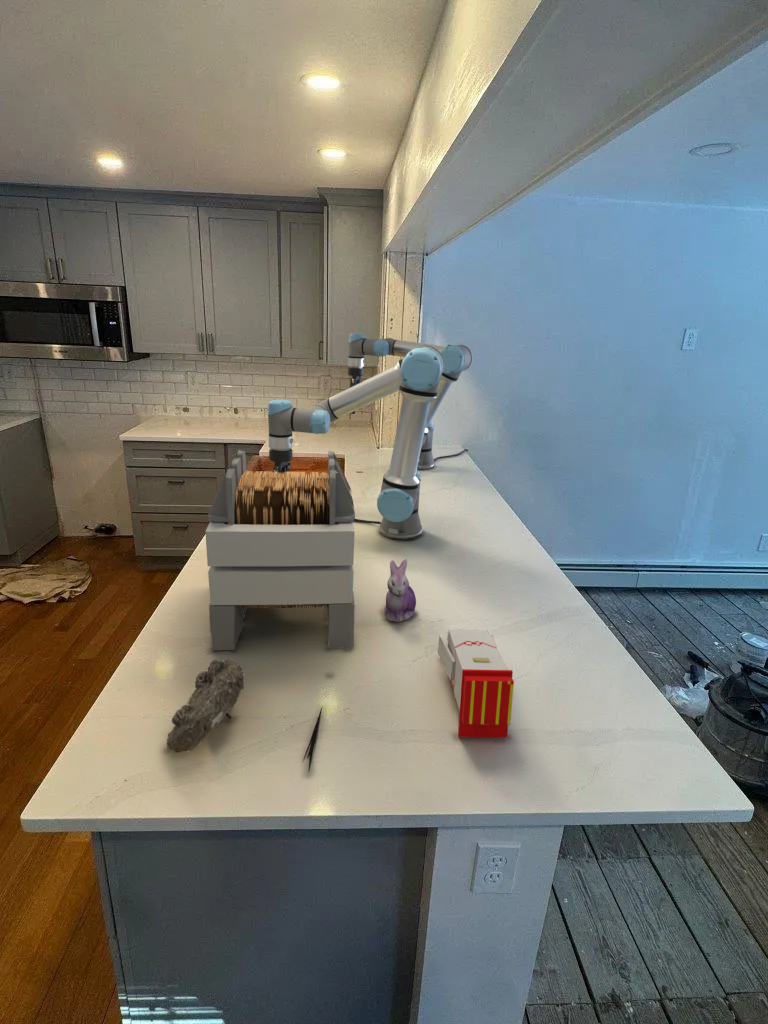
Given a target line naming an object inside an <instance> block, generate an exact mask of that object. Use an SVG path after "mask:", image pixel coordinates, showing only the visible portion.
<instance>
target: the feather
mask: <svg viewBox="0 0 768 1024" xmlns="http://www.w3.org/2000/svg"><path fill="white" fill-rule="evenodd" d="M329 675H330V676H331V675H332V674H331V673H330V674H329ZM322 710H323V707H321V708H320V710H319V713H318V716H317V719H316V723H315V725H314V728H313V731H312V733H311V737H310V739H309V742H308V745H307V748H306V751H305V754H304V757H303V760H302V763H301V767H302V765H303V763H304V761H305V758H308V759H309V760H308V762H307V763H308V764H307V766H308V771H310V770H311V766H312V765H311V764H312V760H313V757H315V756H314V755H315V751H316V749H315V746H317V739H318V733H319V729H320V722H321V717H322V712H323V711H322ZM313 754H314V755H313ZM306 755H307V757H306Z"/></svg>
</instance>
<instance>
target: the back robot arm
mask: <svg viewBox="0 0 768 1024" xmlns="http://www.w3.org/2000/svg"><path fill="white" fill-rule="evenodd" d="M421 346H431V347H434V348H436V349H437V350H438V351H439V352H440V353H441V355H442V356H443V359H444V370H443V373H442V375H441V378H440V383H439V388H438V393H437V397H436V398H435V399H433V400H432V401H431V402H430V407H429V412H428V417H427V422H426V427H425V432H424V437H423V442H422V447H421V452H420V457H419V462H418V467H417V471H419V470H422V471H424V470H426V471H427V470H431V469H434V468H435V461H437V460H438V459H444V458H445V459H446V458H452V457H456V456H460V455H461V454H463V453H465V452H469V450H468V449H467V448H465V449H463V450H462V451H460V452H458V453H454V454H449V455H442V456H438V457H435V458H434V455H433V440H434V430H435V429H434V423H433V422H432V419H433V417H434V416H435V414H436V412H437V410H438V408H439V407H440V405H441V404H442V402H443V400H444V398H445V396H446V394H447V393H448V391H449V389H450V387H451V385H452V384H453V383H456V382H457V381H458V380H459V378H460V376H461V374H462V373H463V372H465V371H466V370H468V369H469V368H470V367H471V366H472V364H473V361H474V354H473V352H472V350H471V348H469V346H466V345H463V344H457V345H455V344H454V345H453V344H447V345H446V346H444V345H437V344H430V343H429V344H428V343H422V342H416V341H407V340H402V339H394V338H391V337H387V338H366V335H365V333H356V332H355V333H354V332H353V333H349V335H348V357H347V366H348V368H347V375H348V376H351V378H350V380H349V388H351V387H353V386H355V385H357V384H359V383H361V382H362V381H361V380H362V379H361V378H362V377H363V376H364V374H365V372H364V371H365V369H364V366H365V363H366V360H365V356H372V357H378V358H379V357H386V356H394V357H399V358H404V357H405V356H406V355H407V354H408V353H409V352H410V351H411V350H413V349H415V348H418V347H421ZM349 414H351V415H355V414H356V411H354V412H352V413H349ZM349 414H348V415H349Z"/></svg>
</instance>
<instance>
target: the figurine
mask: <svg viewBox="0 0 768 1024" xmlns="http://www.w3.org/2000/svg"><path fill="white" fill-rule="evenodd" d="M407 567H408V559H406V558H404V559H403V560H402V561H401V563H400V565H399V566H398V565H397V563H396V562H395V561H394V560H393V559H391V560H390V561H389V570H390V576H389V578H388V579H387V589H388V591H387V592H386V594H385V595H386V596H385V607H384V615H385V616H386V620H387V621H391V622H395V623H400V622H402V621H406V620H409V619H410V618H411V617H413V616H414V615H415V610H416V606H417V597H416V593H415V591H414V590H413V587H411V586H410V582H409V579H408V577H407V574H406V571H407Z"/></svg>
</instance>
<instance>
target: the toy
mask: <svg viewBox="0 0 768 1024" xmlns="http://www.w3.org/2000/svg"><path fill="white" fill-rule="evenodd" d="M446 640H447V643H446V641H445V639H444V636H443V635H442V634H439V637H438V646H437V656H438V657H439V659H440V661H441V663H442V666H443V668H444V670H445V672H446V674H447V677H448V679H449V681H450V684H451V687H452V690H453V693H454V697H455V701H456V705H457V708H458V711H459V714H458V715H459V716H458V730H457V731H458V732H457V737H458V738H508V731H509V726H510V725H511V717H512V707H513V697H514V696H513V695H514V684H515V680H514V679H513V673H514V671H513V670H512V669H508V667H507V665H506V662H505V661H504V659H503V658H502V655H501V653H500V651H499V649H498V647H497V643H496V639H495V637H494V635H493V634H491V632H490V631H489V629H467V628H466V629H465V628H463V629H461V628H460V629H459V628H448V630H447V639H446Z"/></svg>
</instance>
